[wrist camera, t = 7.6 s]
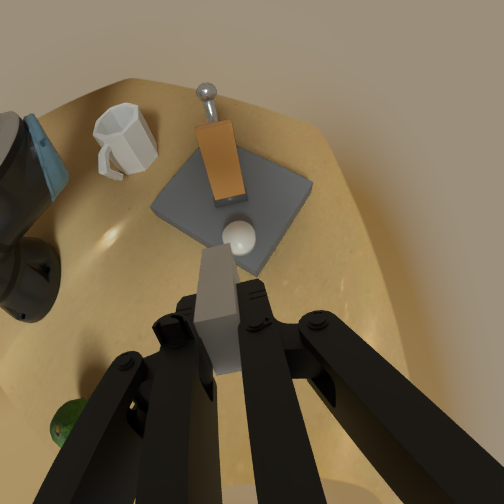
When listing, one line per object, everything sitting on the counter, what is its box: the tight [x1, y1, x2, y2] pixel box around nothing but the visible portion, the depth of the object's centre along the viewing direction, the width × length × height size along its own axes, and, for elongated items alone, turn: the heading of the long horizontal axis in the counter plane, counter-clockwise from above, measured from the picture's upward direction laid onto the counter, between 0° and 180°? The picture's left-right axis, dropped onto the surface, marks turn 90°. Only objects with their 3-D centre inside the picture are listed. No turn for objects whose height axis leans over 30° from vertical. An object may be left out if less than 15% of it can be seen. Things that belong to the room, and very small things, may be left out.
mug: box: [93, 102, 158, 180], centre depth 42 cm, size 12×9×10 cm
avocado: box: [50, 398, 89, 448], centre depth 27 cm, size 8×8×12 cm
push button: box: [222, 221, 256, 257], centre depth 36 cm, size 4×4×2 cm
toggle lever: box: [196, 83, 219, 124], centre depth 36 cm, size 4×3×12 cm
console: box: [150, 146, 313, 277], centre depth 41 cm, size 18×15×3 cm
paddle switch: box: [195, 119, 248, 208], centre depth 34 cm, size 4×2×12 cm, turn 102°
